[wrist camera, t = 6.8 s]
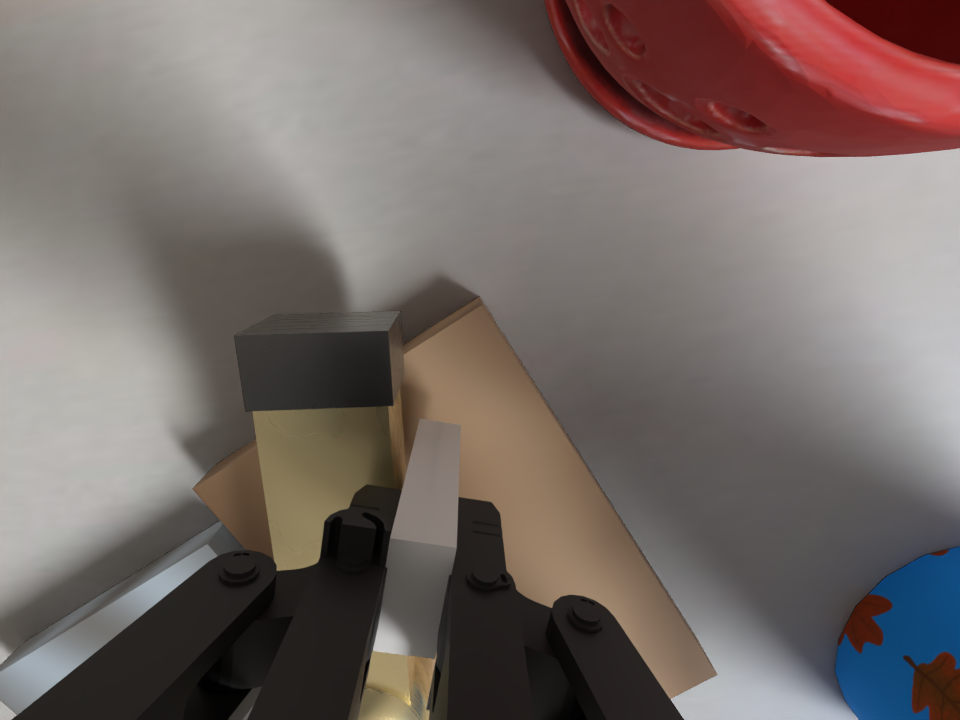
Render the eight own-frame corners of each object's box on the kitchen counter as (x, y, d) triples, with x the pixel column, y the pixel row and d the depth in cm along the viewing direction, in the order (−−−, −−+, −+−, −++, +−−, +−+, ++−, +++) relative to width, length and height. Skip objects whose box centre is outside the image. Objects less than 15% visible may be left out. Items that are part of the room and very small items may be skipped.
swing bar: (435, 704, 20) (430, 797, 17) (320, 710, 20) (293, 806, 17) (411, 308, 16) (399, 331, 13) (267, 313, 16) (219, 337, 13)
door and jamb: (288, 888, 26) (250, 1037, 22) (-14, 609, 22) (-148, 721, 17) (715, 667, 24) (780, 781, 19) (479, 296, 19) (485, 323, 14)
